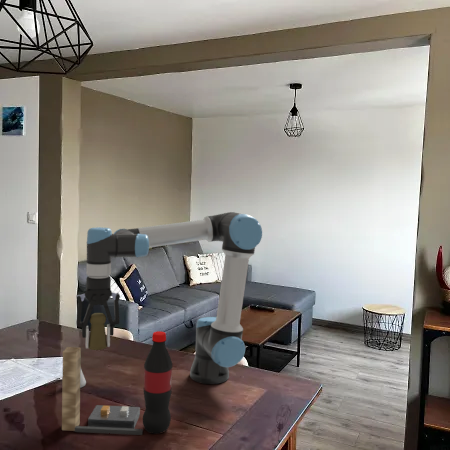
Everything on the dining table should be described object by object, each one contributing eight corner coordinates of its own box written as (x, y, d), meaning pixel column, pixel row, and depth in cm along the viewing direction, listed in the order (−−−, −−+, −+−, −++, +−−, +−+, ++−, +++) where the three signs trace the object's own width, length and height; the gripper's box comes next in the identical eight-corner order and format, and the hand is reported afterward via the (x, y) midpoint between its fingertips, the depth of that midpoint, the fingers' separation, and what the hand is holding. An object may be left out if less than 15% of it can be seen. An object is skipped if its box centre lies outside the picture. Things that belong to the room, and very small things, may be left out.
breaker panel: (139, 414, 152) (140, 402, 152) (134, 429, 143) (134, 416, 143) (96, 412, 152) (96, 400, 152) (87, 427, 143) (88, 414, 143)
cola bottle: (171, 422, 148) (174, 328, 145) (169, 436, 140) (172, 337, 137) (144, 421, 148) (146, 327, 145) (140, 435, 139) (143, 336, 137)
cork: (95, 342, 158) (95, 310, 157) (110, 345, 156) (111, 312, 155) (84, 348, 152) (84, 314, 151) (100, 351, 150) (100, 317, 149)
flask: (79, 390, 167) (80, 363, 166) (61, 388, 169) (61, 360, 168) (89, 382, 174) (90, 356, 173) (71, 379, 176) (72, 353, 175)
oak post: (79, 424, 145) (80, 347, 142) (75, 430, 141) (76, 352, 138) (66, 423, 145) (67, 347, 142) (61, 430, 141) (62, 351, 138)
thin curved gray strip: (142, 432, 141) (142, 429, 141) (142, 435, 140) (142, 431, 140) (75, 429, 141) (76, 425, 141) (74, 431, 140) (74, 428, 140)
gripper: (127, 272, 158) (125, 340, 160) (67, 274, 152) (66, 344, 154) (130, 277, 151) (128, 347, 153) (67, 279, 145) (67, 352, 147)
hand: (97, 345), depth 154 cm, fingers closed on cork, 6 cm apart
